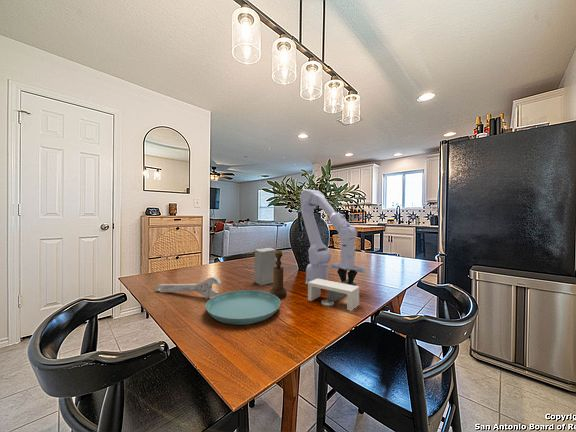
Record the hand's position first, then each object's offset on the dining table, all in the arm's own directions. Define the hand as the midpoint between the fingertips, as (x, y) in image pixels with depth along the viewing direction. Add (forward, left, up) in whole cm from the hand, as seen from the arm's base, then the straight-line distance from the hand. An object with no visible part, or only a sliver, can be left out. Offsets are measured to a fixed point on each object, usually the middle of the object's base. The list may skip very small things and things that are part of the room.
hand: (347, 287), depth 101 cm
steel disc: (0, -18, -2) cm, 18 cm away
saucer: (-19, -40, -2) cm, 45 cm away
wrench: (-48, -44, -2) cm, 65 cm away
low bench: (+1, -15, -2) cm, 16 cm away
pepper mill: (-19, -22, -2) cm, 29 cm away
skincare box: (-35, -12, -2) cm, 37 cm away
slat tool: (0, -6, -2) cm, 6 cm away
